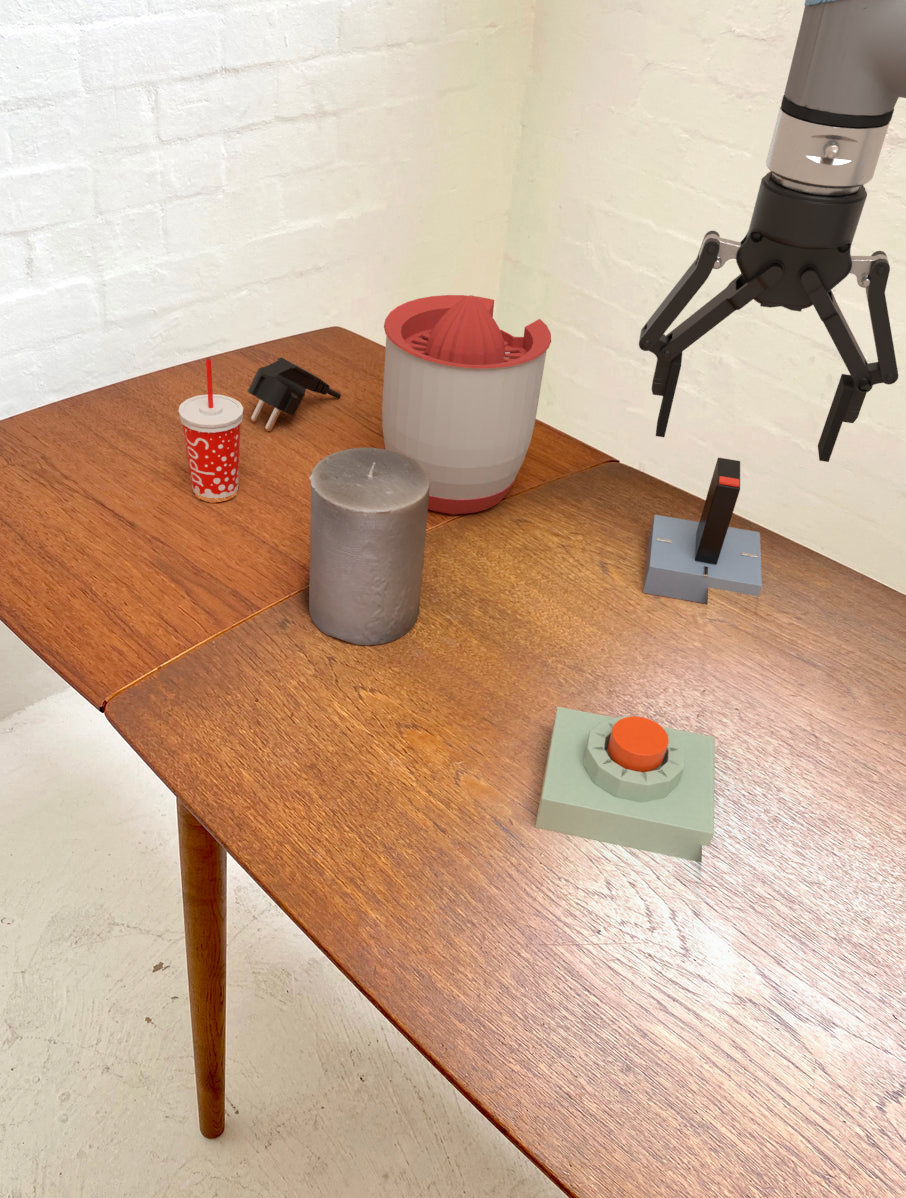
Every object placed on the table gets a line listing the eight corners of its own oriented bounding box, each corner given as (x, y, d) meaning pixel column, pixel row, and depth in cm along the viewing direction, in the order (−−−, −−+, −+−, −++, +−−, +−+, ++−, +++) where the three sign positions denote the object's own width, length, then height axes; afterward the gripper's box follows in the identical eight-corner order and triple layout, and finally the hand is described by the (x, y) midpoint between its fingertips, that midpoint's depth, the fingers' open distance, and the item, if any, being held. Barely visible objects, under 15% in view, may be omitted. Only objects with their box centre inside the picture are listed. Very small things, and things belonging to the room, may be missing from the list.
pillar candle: (395, 572, 103) (406, 425, 93) (434, 636, 96) (451, 485, 86) (294, 589, 100) (294, 440, 90) (327, 656, 93) (331, 503, 83)
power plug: (358, 398, 126) (290, 363, 116) (327, 458, 127) (258, 429, 118) (325, 380, 129) (257, 344, 119) (296, 439, 130) (226, 408, 121)
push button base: (704, 766, 86) (721, 719, 82) (702, 863, 78) (720, 816, 75) (550, 735, 87) (561, 688, 84) (534, 828, 80) (545, 780, 77)
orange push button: (664, 739, 81) (669, 722, 80) (662, 777, 78) (667, 760, 77) (609, 728, 82) (614, 711, 80) (605, 766, 79) (610, 748, 78)
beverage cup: (174, 484, 112) (163, 352, 102) (228, 469, 115) (222, 339, 105) (201, 513, 108) (192, 379, 99) (257, 497, 111) (253, 365, 101)
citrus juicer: (567, 484, 116) (602, 296, 102) (457, 547, 106) (480, 348, 93) (455, 428, 124) (474, 246, 110) (343, 482, 114) (350, 289, 100)
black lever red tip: (696, 532, 105) (718, 454, 99) (717, 535, 105) (741, 458, 99) (694, 561, 101) (717, 482, 96) (716, 565, 101) (741, 486, 95)
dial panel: (751, 557, 108) (760, 529, 105) (752, 613, 101) (762, 584, 99) (647, 539, 109) (654, 512, 107) (642, 593, 102) (649, 565, 100)
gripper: (640, 173, 80) (590, 439, 94) (1006, 216, 76) (897, 486, 90) (646, 145, 85) (598, 400, 99) (988, 183, 81) (888, 442, 96)
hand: (740, 441), depth 95 cm, fingers open, 13 cm apart
